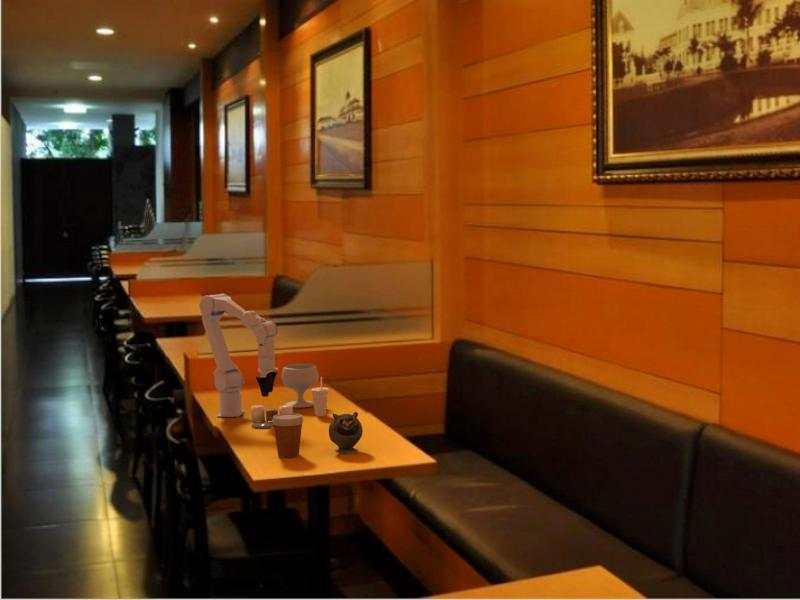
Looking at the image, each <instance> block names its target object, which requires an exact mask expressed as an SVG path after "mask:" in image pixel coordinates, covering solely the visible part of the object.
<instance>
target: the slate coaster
mask: <svg viewBox="0 0 800 600" xmlns="http://www.w3.org/2000/svg"><path fill="white" fill-rule="evenodd" d="M251 427H252V428H253V427H255V428H254V429H257V428H268V429H272V428H271V427H274V424H273V422H268V421H262V422H253V423H252V424H251Z"/></svg>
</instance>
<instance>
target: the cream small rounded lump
mask: <svg viewBox="0 0 800 600" xmlns="http://www.w3.org/2000/svg"><path fill="white" fill-rule="evenodd" d="M278 409H279V410H278V412H279V414H283V413H293V412H294V411H293V409H294V408H293V406H291V405H285V404H284V405H279V408H278Z"/></svg>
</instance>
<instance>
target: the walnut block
mask: <svg viewBox="0 0 800 600" xmlns="http://www.w3.org/2000/svg"><path fill="white" fill-rule="evenodd" d="M278 409H279V408H277V407H276V408H265V420H266V421H272V420H273V416H274V415H277V414H279V413H278V412H279V410H278ZM266 421H265V422H266Z"/></svg>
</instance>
